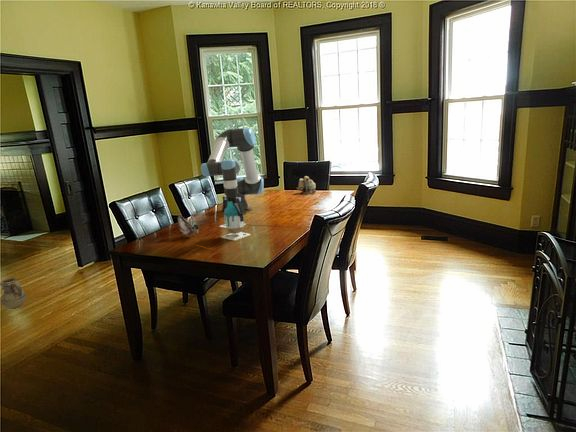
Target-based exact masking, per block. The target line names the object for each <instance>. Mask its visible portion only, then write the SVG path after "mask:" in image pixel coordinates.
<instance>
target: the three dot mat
mask: <svg viewBox="0 0 576 432" xmlns="http://www.w3.org/2000/svg"><path fill="white" fill-rule="evenodd" d="M244 226H247V223H244ZM219 228H222V229H226V225H225V224H222V225H219Z"/></svg>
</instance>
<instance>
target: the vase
mask: <svg viewBox="0 0 576 432" xmlns="http://www.w3.org/2000/svg"><path fill="white" fill-rule="evenodd" d="M227 203H228V206H227V208H225V209H224V210H225V211H224V212H223V214H224V225H226V228H225V229H226V231H227V232H228V234H230V233H231V234H237V233H240V232H243V230H244V229H245V228H244V227H245V226H244V227H241V228H239V220H238V216H239V214H238V212H237V210H236V208H235V206H233V203H232V201H227ZM236 203H237V202H236ZM236 203H235V204H236ZM240 214H241V213H240ZM243 218H244V216H243ZM243 223H244V224H245V220H244V221H243Z"/></svg>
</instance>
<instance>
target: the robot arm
mask: <svg viewBox="0 0 576 432" xmlns="http://www.w3.org/2000/svg"><path fill="white" fill-rule="evenodd" d="M256 142H257V139H256V134H255V132H254V130H253V129H252V128H250V127H244V128H229V129H226V130H224V131H222V132H221V133H220V134H218V135H217V136H216V138H215V140H214V146H213V149H212V151H211V154H210V155H209V157H208V160H207V162H205V163H201V165H200V172H201V174H202V176H204V177H214V176H215V177H216V176H217V177H218V176H222V182H223V188H224V189H223V191H224V195H223V196H222V205H221V206H222V207H221V212H222V213H224V211H225V208H227V206H228V203H227V201H232V203H233V206H235V208H236V210H237V212H238V214H239V216H238V220H239V228H241V227H245V225H244V224H245V219H244V218H243V217H244V216H245V215H247V212H246V211H247V210H248V209H249V204H248V202H247V199H246V196H251V195H262V194H263V193H264V185H265V184H264V183H265V182H264V181H265V180H264V177H261V175H260V174H258V173H259V172H258V168H257V165H256V158H255V154H254V153H255V152H254V148H255V146H256V144H257V143H256ZM229 148H237V149H236V150H237V151H238V152H239V153H240V156H241V161H242V165H243V168H244V173H245V174H244V175H245V177H243V176H241V177H240V176H239V177H237V174H239V172H240V171H241V164H240V162H238V161H237V160H235V159H231V158H228V159H224V156H225V153H226V151H227V150H228V149H229ZM236 202H237V203H236ZM235 203H236V204H235ZM240 213H241V214H240ZM243 221H244V223H243Z"/></svg>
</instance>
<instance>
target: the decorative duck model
mask: <svg viewBox="0 0 576 432" xmlns="http://www.w3.org/2000/svg"><path fill="white" fill-rule="evenodd" d="M177 224H178V225H177V226H178V229H179V230H178V235H179V236H182V235H187V236H192V235H194V233H195V231H196V233H197V234H199V225H198V224H192V223H191V222H190V221H188V220H187V219H186V218H184V216H182V215H180V214H178V216H177Z"/></svg>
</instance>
